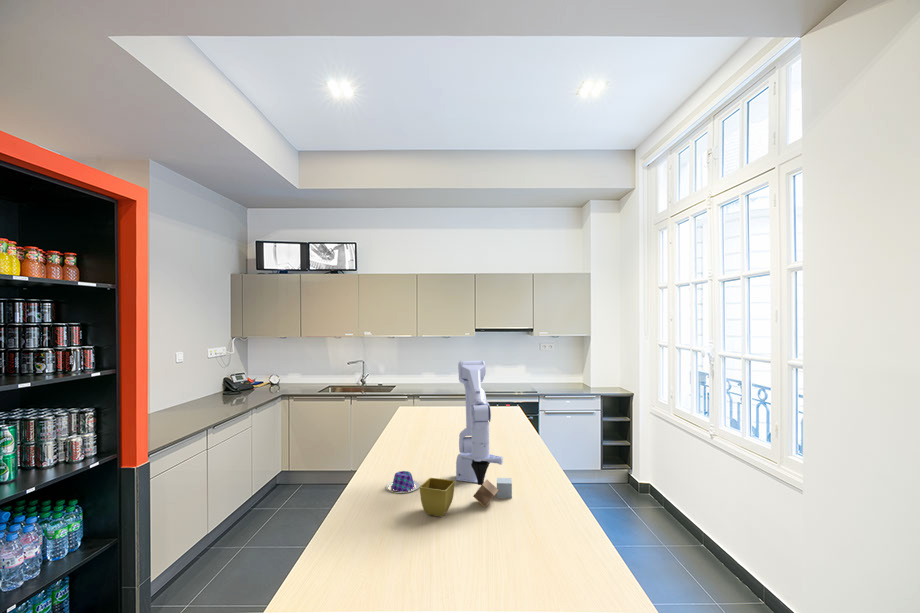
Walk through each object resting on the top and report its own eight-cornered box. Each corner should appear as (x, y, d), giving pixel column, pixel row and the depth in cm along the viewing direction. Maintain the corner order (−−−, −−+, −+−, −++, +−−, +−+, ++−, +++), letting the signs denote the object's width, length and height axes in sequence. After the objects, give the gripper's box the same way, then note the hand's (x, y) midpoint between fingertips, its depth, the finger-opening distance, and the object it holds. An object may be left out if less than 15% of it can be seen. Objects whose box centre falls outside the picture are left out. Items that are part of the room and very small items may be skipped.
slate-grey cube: (496, 498, 149) (496, 483, 149) (496, 492, 154) (496, 477, 154) (511, 498, 148) (511, 483, 148) (511, 492, 153) (511, 478, 153)
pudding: (426, 487, 159) (426, 472, 160) (401, 497, 150) (401, 482, 150) (404, 479, 167) (404, 465, 167) (379, 489, 158) (379, 474, 158)
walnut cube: (473, 496, 143) (482, 484, 142) (477, 490, 147) (486, 479, 146) (484, 507, 141) (494, 495, 140) (489, 501, 146) (498, 489, 145)
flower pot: (455, 509, 140) (455, 480, 141) (446, 521, 132) (445, 490, 132) (430, 505, 143) (430, 477, 144) (419, 517, 135) (418, 487, 135)
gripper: (455, 443, 144) (455, 485, 143) (498, 447, 139) (499, 491, 138) (462, 437, 150) (463, 478, 150) (504, 441, 145) (504, 483, 145)
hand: (480, 484), depth 144 cm, fingers closed
